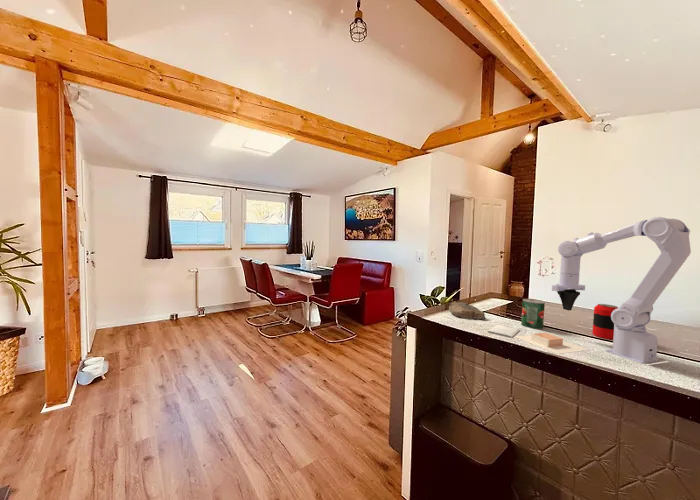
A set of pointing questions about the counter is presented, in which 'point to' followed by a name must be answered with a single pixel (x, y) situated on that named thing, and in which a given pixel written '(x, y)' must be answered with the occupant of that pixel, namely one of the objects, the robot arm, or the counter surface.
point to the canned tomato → (533, 313)
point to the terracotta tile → (547, 339)
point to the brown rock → (465, 311)
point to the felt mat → (556, 349)
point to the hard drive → (504, 331)
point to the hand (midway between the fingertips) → (567, 309)
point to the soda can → (603, 321)
